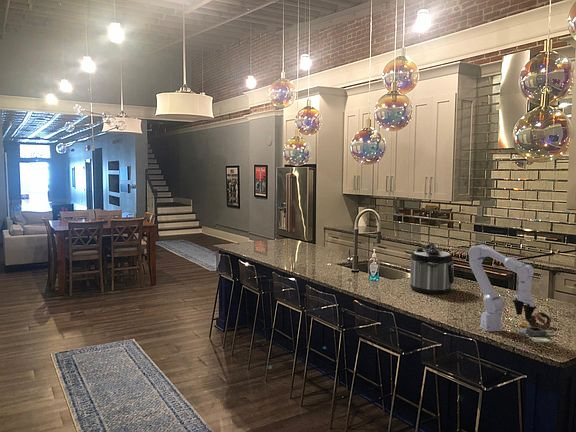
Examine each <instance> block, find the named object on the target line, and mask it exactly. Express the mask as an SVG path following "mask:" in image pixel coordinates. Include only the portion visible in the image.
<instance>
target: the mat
mask: <svg viewBox="0 0 576 432" xmlns="http://www.w3.org/2000/svg"><path fill="white" fill-rule="evenodd" d="M528 339H529V340H530V339H531V340H530V341H532V342H534V343H551V342H552V341H551V340H550V339H548V338H547V337H541V338H532V337H528Z"/></svg>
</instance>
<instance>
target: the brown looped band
mask: <svg viewBox="0 0 576 432" xmlns="http://www.w3.org/2000/svg"><path fill="white" fill-rule="evenodd" d="M544 318H545V319H546V320H545V319H544ZM537 321H539V322H540V323H541V324H543V325H542V328H541V329H543V330H546V329H547V328H548V327H549V326H550V325H551V321H552V319H551V318H550V316H549V315H548V314H546V313H544V312H541V311H539V312H537V313H534V314H532V316H531V319H530V320H526V323H527V322H528V323H527V324H528V325H530V326H533V324H536V323H537Z"/></svg>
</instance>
